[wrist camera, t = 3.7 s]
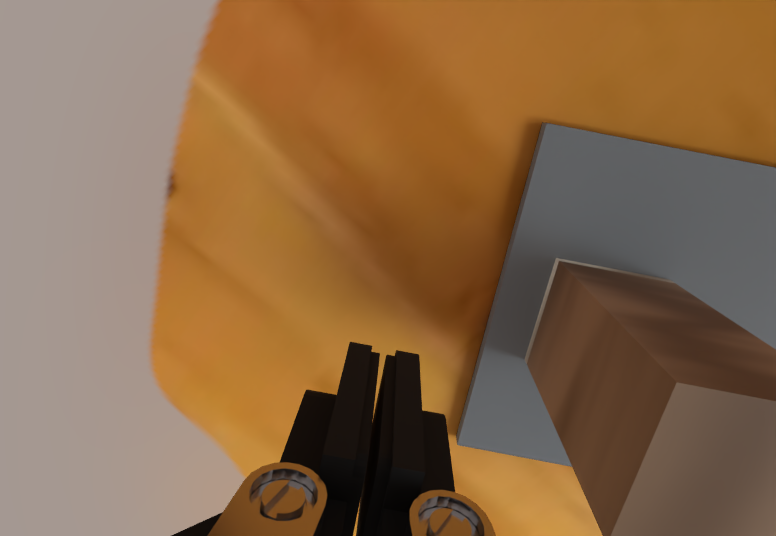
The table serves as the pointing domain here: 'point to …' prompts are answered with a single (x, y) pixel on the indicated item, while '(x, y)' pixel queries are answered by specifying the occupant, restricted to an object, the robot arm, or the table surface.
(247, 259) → the table surface
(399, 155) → the table surface
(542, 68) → the table surface
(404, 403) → the robot arm
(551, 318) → the block
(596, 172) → the mat
